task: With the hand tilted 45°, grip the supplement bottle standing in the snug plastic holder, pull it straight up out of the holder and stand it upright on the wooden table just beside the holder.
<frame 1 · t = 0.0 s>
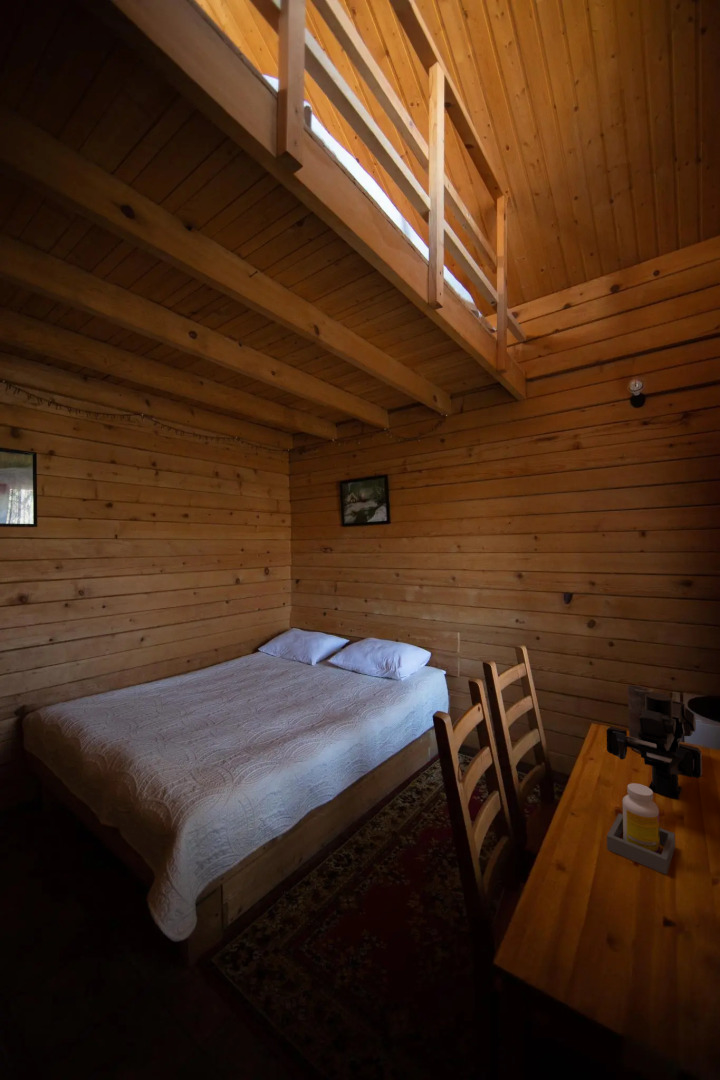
hand: (644, 763, 97), 17 cm above the table, tool horizontal, fingers open, 9 cm apart
candle: (642, 750, 137), on the table
holder: (641, 848, 93), on the table
supplement bottle: (641, 849, 93), resting in holder
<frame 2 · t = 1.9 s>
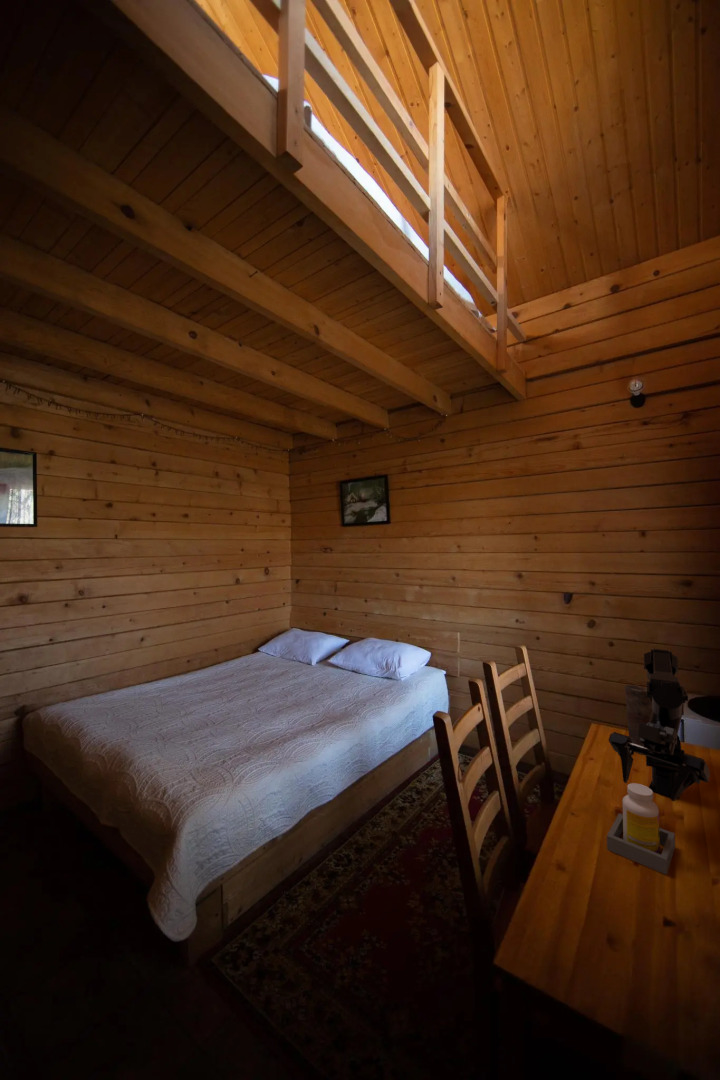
hand: (647, 790, 96), 11 cm above the table, tool tilted 45°, fingers open, 9 cm apart
nothing on the table moved.
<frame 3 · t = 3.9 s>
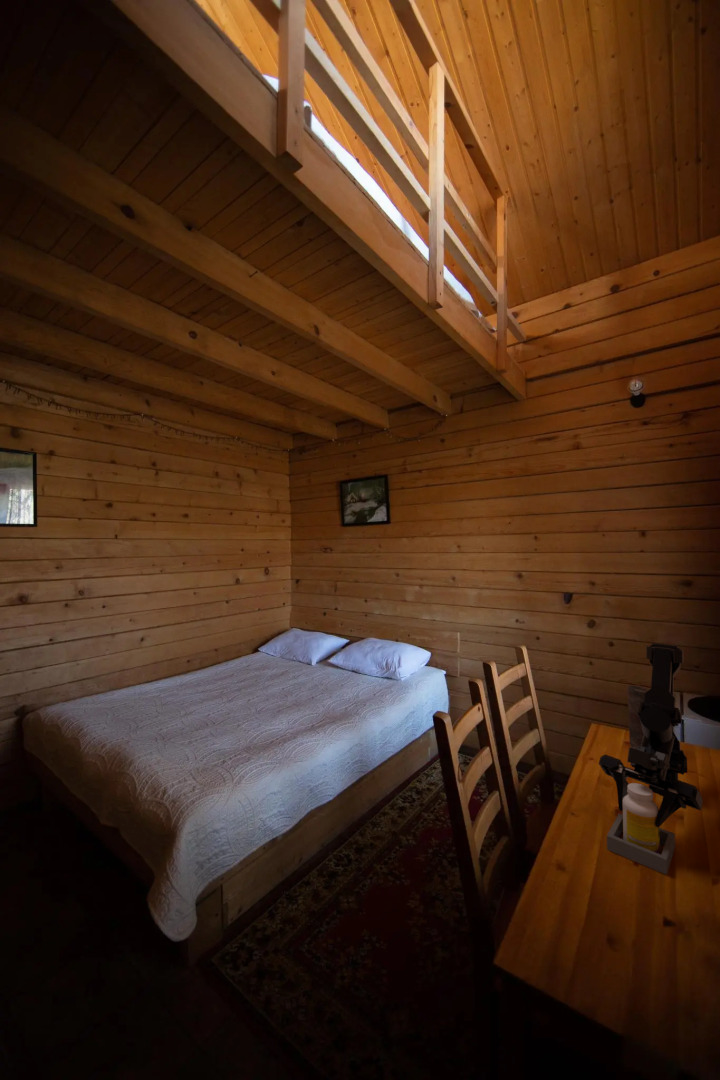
hand: (638, 818, 93), 7 cm above the table, tool tilted 45°, fingers closed on supplement bottle, 7 cm apart
supplement bottle: (641, 849, 93), resting in holder, touching gripper
everything else where it was.
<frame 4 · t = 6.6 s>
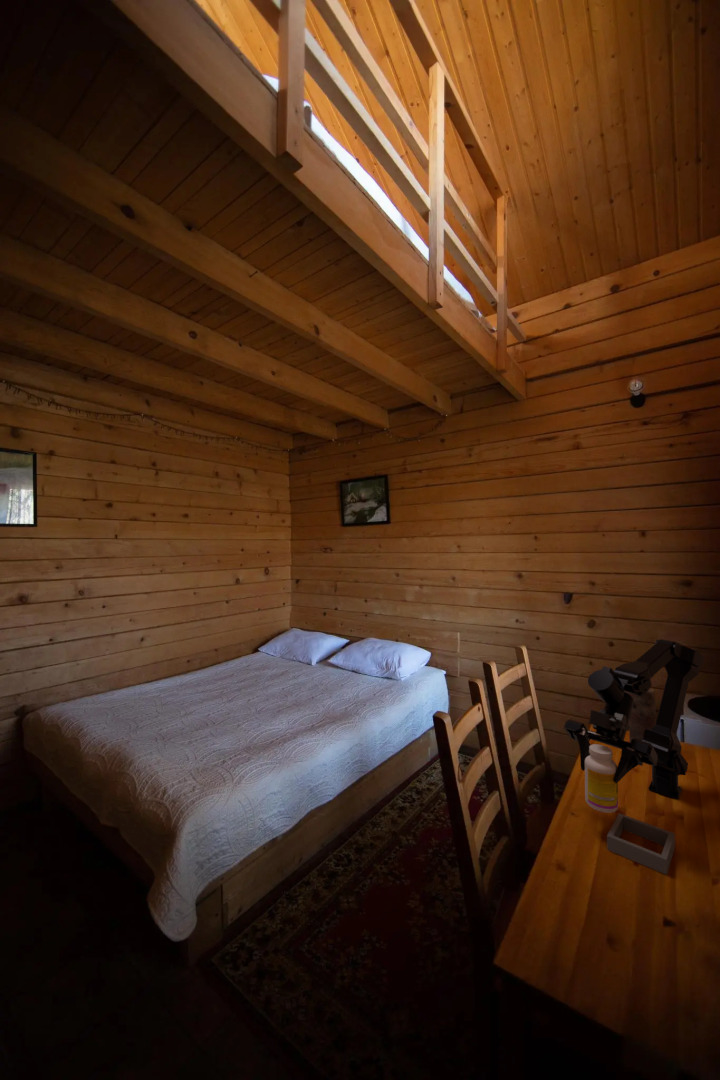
hand: (598, 775, 98), 13 cm above the table, tool tilted 45°, fingers closed on supplement bottle, 7 cm apart
supplement bottle: (601, 805, 99), point 6 cm above the table, touching gripper
everything else where it was.
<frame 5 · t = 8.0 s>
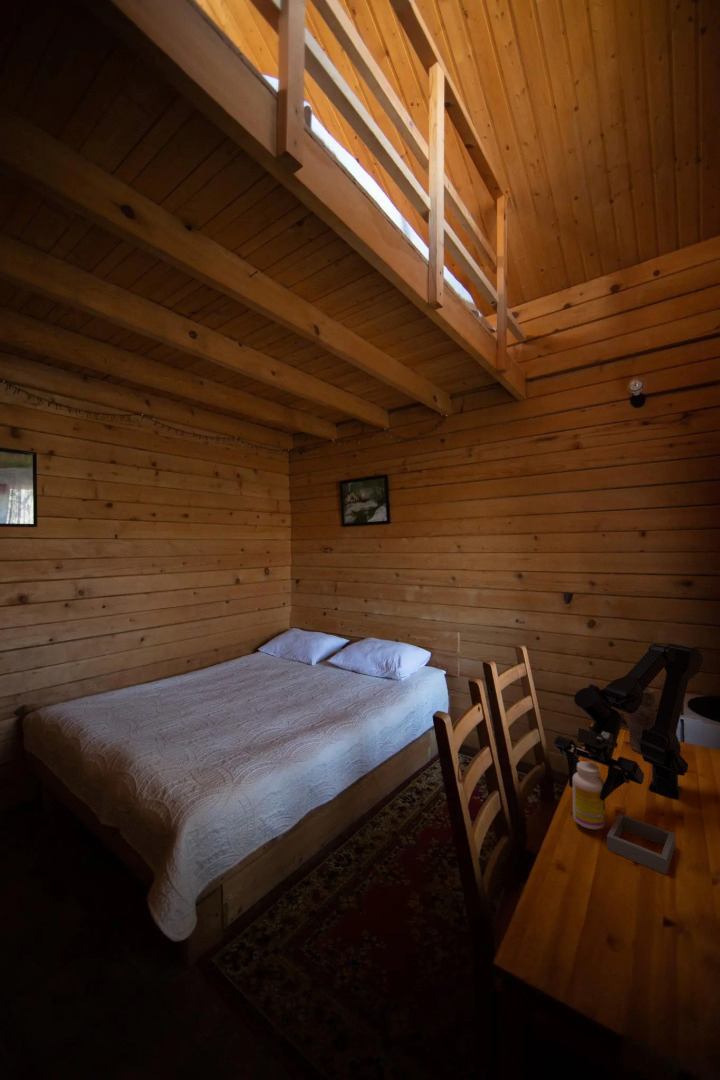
hand: (585, 792, 100), 8 cm above the table, tool tilted 45°, fingers closed on supplement bottle, 7 cm apart
supplement bottle: (588, 822, 101), point 1 cm above the table, touching gripper
everything else where it was.
when the fingers open (8 cm above the table, at t = 9.1 s): supplement bottle stays where it is, on the table.
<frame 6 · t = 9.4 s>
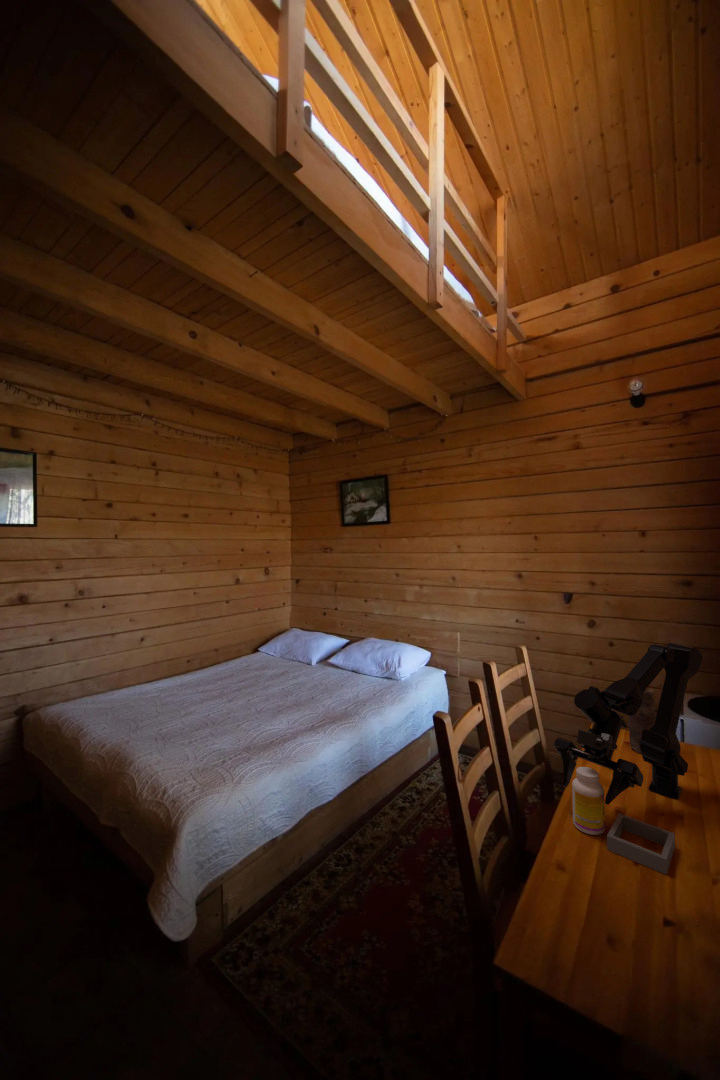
hand: (585, 794, 100), 8 cm above the table, tool tilted 45°, fingers open, 9 cm apart
supplement bottle: (588, 827, 101), on the table
everything else where it was.
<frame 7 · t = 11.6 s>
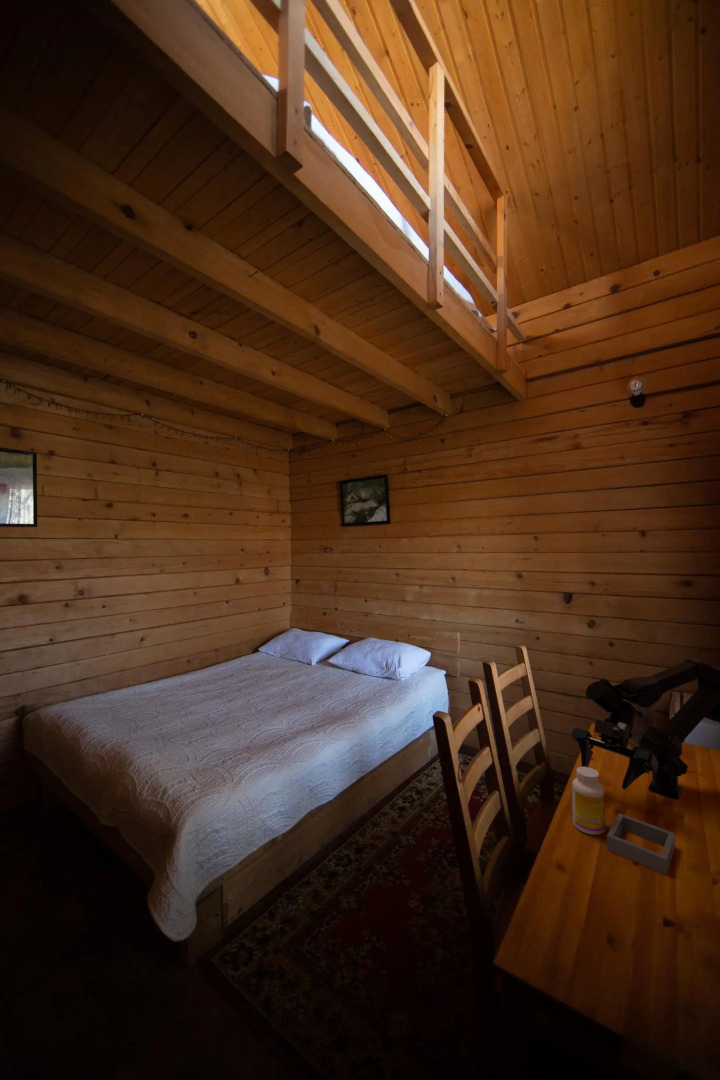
hand: (602, 780, 106), 8 cm above the table, tool tilted 45°, fingers open, 9 cm apart
nothing on the table moved.
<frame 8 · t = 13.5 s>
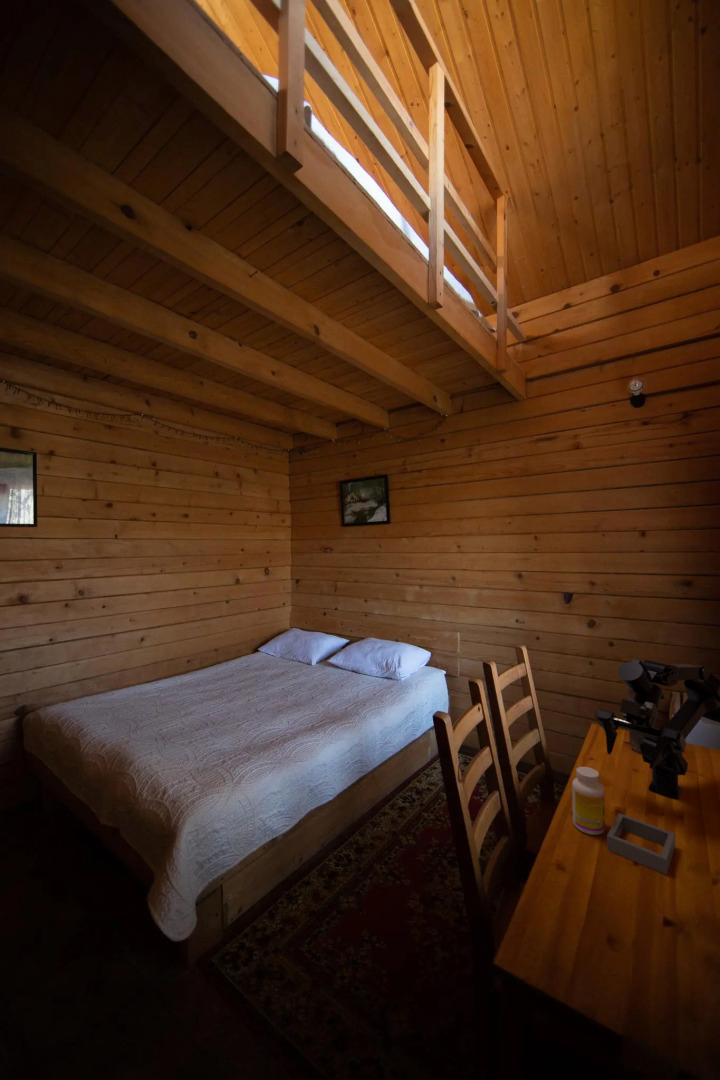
hand: (629, 760, 104), 14 cm above the table, tool tilted 45°, fingers open, 9 cm apart
nothing on the table moved.
at the end: supplement bottle inside the target area (0.3 cm from its centre), on the table; supplement bottle tilted 0°; supplement bottle touching table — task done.
